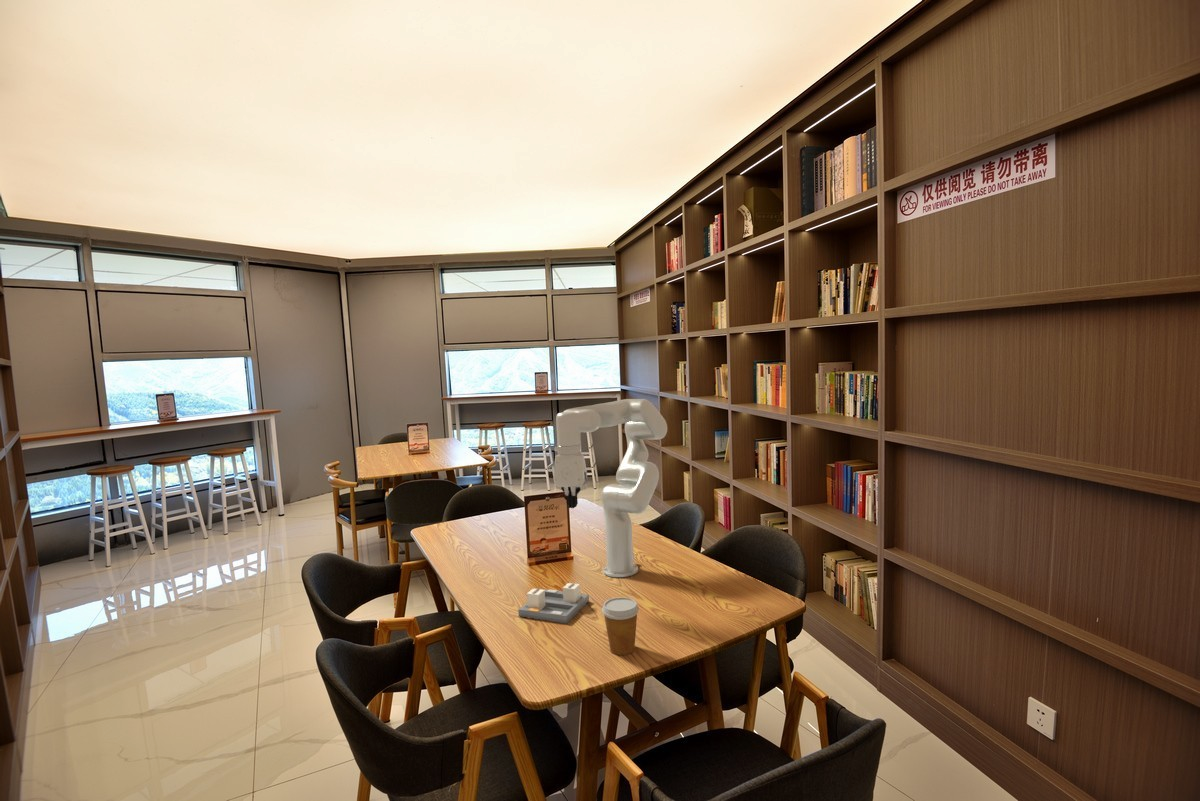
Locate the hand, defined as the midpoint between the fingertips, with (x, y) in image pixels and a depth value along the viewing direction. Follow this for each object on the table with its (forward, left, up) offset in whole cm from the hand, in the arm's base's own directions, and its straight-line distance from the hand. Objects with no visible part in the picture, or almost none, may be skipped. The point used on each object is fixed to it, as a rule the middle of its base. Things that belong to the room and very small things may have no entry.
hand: (572, 507), depth 177 cm
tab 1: (+15, -7, -28) cm, 32 cm away
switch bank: (+11, -2, -29) cm, 31 cm away
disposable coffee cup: (+28, +26, -29) cm, 48 cm away
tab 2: (+7, +2, -28) cm, 29 cm away
